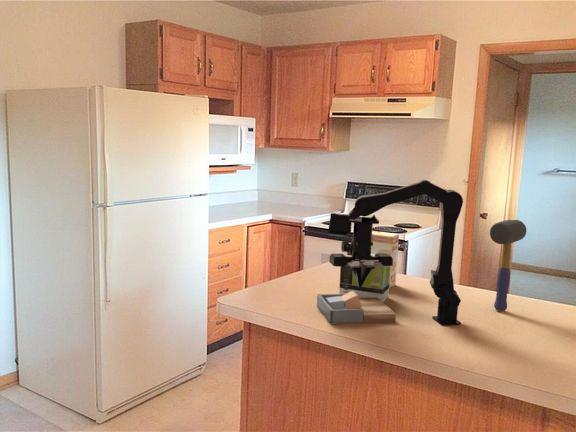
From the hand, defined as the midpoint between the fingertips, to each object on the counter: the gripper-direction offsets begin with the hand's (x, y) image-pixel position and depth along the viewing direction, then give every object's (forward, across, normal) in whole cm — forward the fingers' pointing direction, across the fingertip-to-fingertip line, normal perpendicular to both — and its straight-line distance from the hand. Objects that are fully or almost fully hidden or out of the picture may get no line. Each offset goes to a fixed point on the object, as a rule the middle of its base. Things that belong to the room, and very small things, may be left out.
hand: (359, 286), depth 164 cm
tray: (+8, +6, 0) cm, 10 cm away
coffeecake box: (+9, -17, -33) cm, 38 cm away
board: (+9, -4, 0) cm, 10 cm away
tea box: (+9, -7, -16) cm, 20 cm away
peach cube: (+6, +2, 0) cm, 7 cm away
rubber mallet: (+9, -48, +1) cm, 49 cm away
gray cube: (+8, +7, 0) cm, 11 cm away
